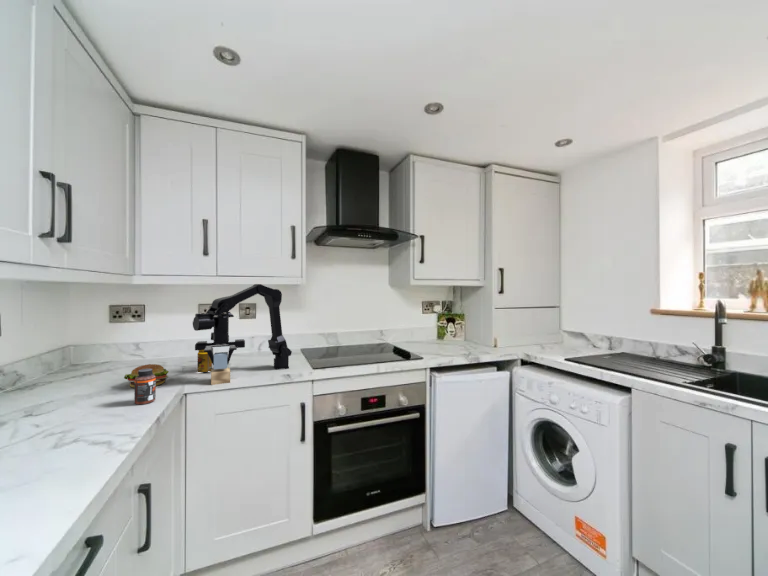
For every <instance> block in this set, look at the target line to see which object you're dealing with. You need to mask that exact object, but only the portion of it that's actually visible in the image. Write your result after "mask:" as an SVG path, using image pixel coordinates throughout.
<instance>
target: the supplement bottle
mask: <svg viewBox="0 0 768 576" xmlns="http://www.w3.org/2000/svg"><path fill="white" fill-rule="evenodd" d="M138 375H139V376H137V377H136V378H135V388H134V391H133V392H134V399H133V401H134V404H136V405H140V406H141V405H147V404H151V403H153V402H155V400H156V397H157V396H156V392H157V390H156V389H157V388H156V376H155V375H153V371H152V369H141V370H139V371H138Z"/></svg>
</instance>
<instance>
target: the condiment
mask: <svg viewBox="0 0 768 576" xmlns="http://www.w3.org/2000/svg"><path fill="white" fill-rule="evenodd" d="M204 350H205V349H204ZM204 350H197V351H198V352H197V369H196V370H197V371H198V372H208V371H211V369H213V364H212V361H211V359H210V357H209V355H208V353H207V352H204ZM197 371H196V372H197Z"/></svg>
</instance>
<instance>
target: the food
mask: <svg viewBox="0 0 768 576" xmlns="http://www.w3.org/2000/svg"><path fill="white" fill-rule="evenodd" d="M141 369H152V371H153V375H155V376H156V386H160V385H162V384H163V383H164V384H165V381H166V380H167V378H169V375H168V374H169V370H167V369H166V368H165V367H164V366H162V365H160V364H156V363H149V364H142V365H139V366H137V367H135V368H133V369H132V370H131V373H128V374H127V373H125V375H124V377H123V378H124V379H125V380H127V381H128V382H129V387H130V388H133V389H135V378H136V377H137V376H139V375H138V371H139V370H141Z"/></svg>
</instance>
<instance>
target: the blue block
mask: <svg viewBox="0 0 768 576" xmlns="http://www.w3.org/2000/svg"><path fill="white" fill-rule="evenodd" d="M228 353H229V351H225V352H224V351H223V352H222V351H221V352H214V353H213V354H214V365H213V368H214V369H226V368H228V366H229V364H227V359H228Z"/></svg>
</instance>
